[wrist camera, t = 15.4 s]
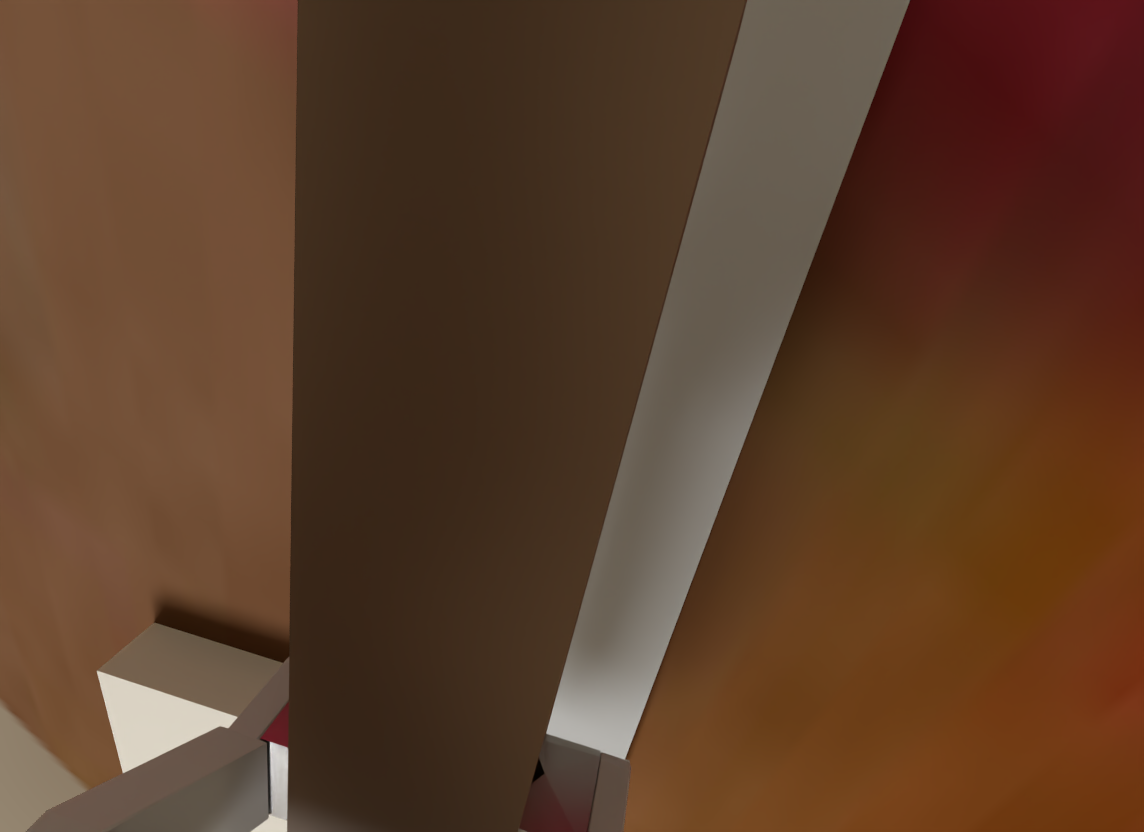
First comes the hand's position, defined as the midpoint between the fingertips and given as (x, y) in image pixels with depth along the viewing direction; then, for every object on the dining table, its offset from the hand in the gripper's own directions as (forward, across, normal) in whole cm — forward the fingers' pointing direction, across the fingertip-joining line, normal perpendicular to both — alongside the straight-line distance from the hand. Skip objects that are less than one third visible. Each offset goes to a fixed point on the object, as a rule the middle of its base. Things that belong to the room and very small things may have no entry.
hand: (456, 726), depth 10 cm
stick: (+2, 0, 0) cm, 2 cm away
